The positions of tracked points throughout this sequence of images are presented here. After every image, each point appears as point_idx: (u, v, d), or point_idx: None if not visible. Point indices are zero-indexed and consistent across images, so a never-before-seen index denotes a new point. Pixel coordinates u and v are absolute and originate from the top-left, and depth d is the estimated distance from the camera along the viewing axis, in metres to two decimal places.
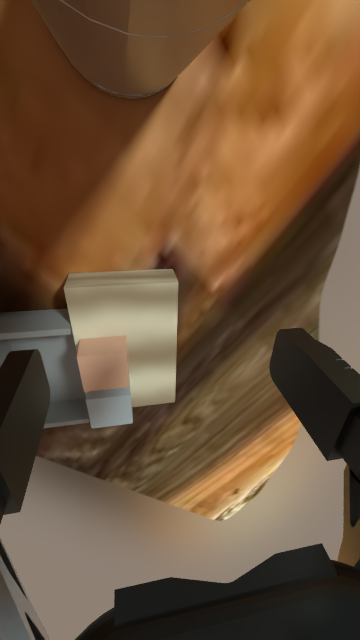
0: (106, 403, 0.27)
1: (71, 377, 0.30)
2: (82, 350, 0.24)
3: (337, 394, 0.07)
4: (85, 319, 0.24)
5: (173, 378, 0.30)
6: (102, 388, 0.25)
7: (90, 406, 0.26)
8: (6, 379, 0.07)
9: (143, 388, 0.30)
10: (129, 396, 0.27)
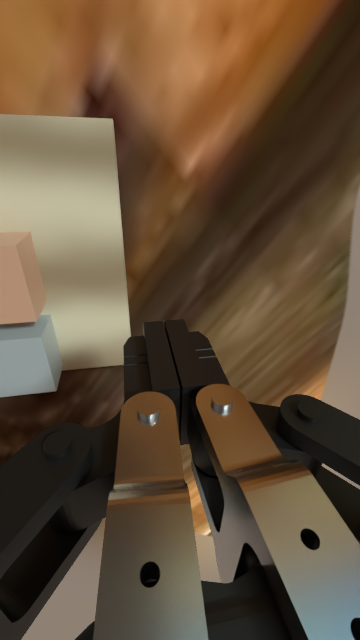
0: (0, 352, 0.15)
1: None
2: None
3: (179, 379, 0.08)
4: None
5: (125, 321, 0.19)
6: None
7: None
8: (155, 341, 0.09)
9: (77, 338, 0.19)
10: (40, 340, 0.16)
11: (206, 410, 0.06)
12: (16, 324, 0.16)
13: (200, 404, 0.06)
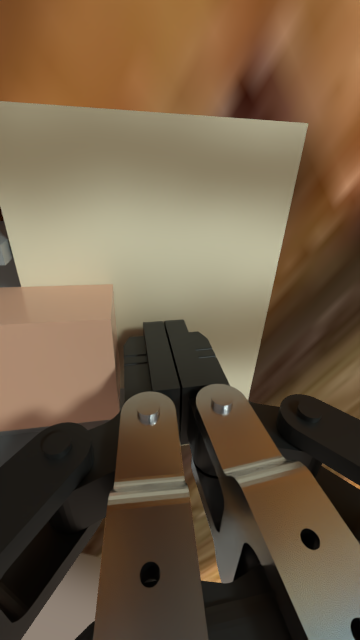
0: None
1: None
2: None
3: (179, 380, 0.08)
4: (49, 225, 0.09)
5: (245, 390, 0.14)
6: (46, 422, 0.09)
7: None
8: (156, 341, 0.09)
9: None
10: None
11: (206, 410, 0.06)
12: None
13: (200, 404, 0.06)
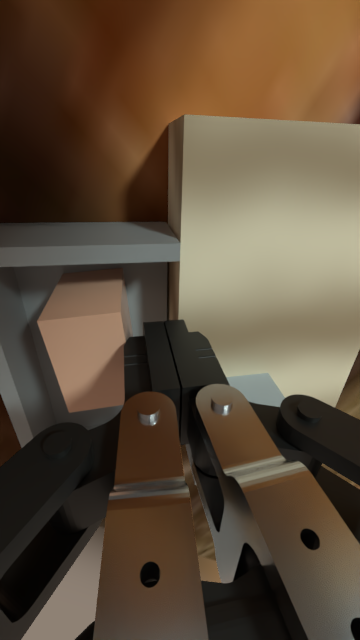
0: None
1: None
2: (82, 274, 0.12)
3: (178, 380, 0.08)
4: (216, 225, 0.10)
5: (343, 378, 0.15)
6: None
7: None
8: (156, 341, 0.09)
9: None
10: None
11: (206, 410, 0.06)
12: (241, 390, 0.13)
13: (200, 405, 0.06)
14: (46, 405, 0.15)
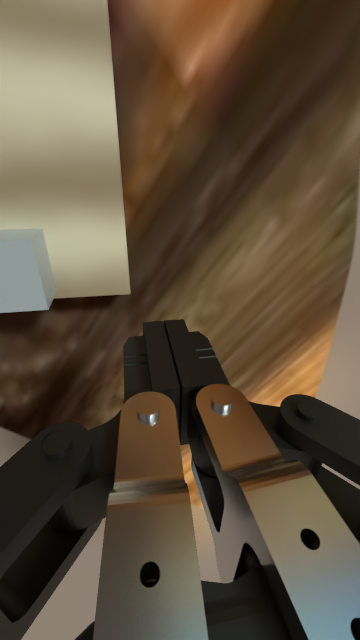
0: None
1: None
2: None
3: (179, 379, 0.08)
4: None
5: (122, 242, 0.18)
6: None
7: None
8: (156, 341, 0.09)
9: (72, 259, 0.18)
10: (30, 244, 0.14)
11: (206, 410, 0.06)
12: (5, 233, 0.15)
13: (201, 404, 0.06)
14: None
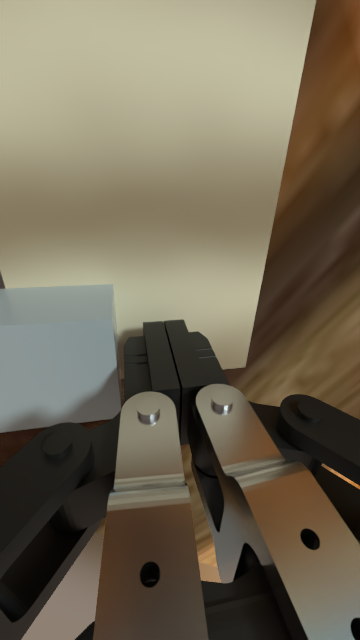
0: (32, 346, 0.08)
1: None
2: None
3: (179, 379, 0.08)
4: None
5: (253, 298, 0.12)
6: None
7: None
8: (156, 341, 0.09)
9: None
10: (109, 325, 0.08)
11: (206, 410, 0.06)
12: (58, 297, 0.09)
13: (201, 405, 0.06)
14: None
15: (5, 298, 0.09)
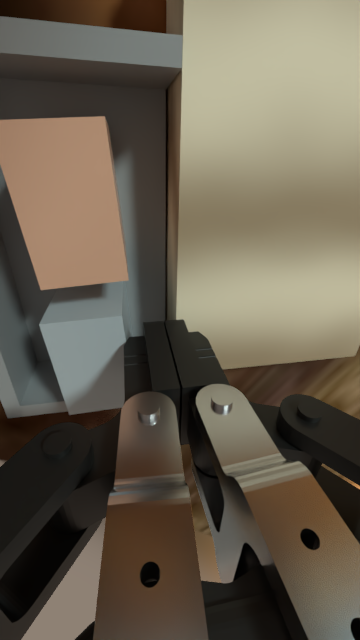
0: None
1: (131, 293, 0.13)
2: None
3: (179, 380, 0.08)
4: (231, 23, 0.07)
5: None
6: None
7: None
8: (156, 341, 0.09)
9: (306, 315, 0.12)
10: (41, 328, 0.09)
11: (206, 410, 0.06)
12: (97, 295, 0.10)
13: (200, 404, 0.06)
14: (19, 321, 0.12)
15: None
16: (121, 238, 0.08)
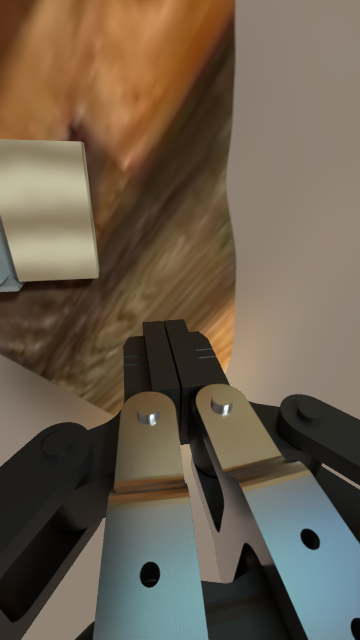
0: None
1: (3, 251, 0.34)
2: None
3: (179, 380, 0.08)
4: (2, 174, 0.29)
5: (92, 250, 0.34)
6: None
7: None
8: (155, 341, 0.09)
9: (65, 259, 0.34)
10: None
11: (206, 410, 0.06)
12: None
13: (201, 404, 0.06)
14: None
15: None
16: None
